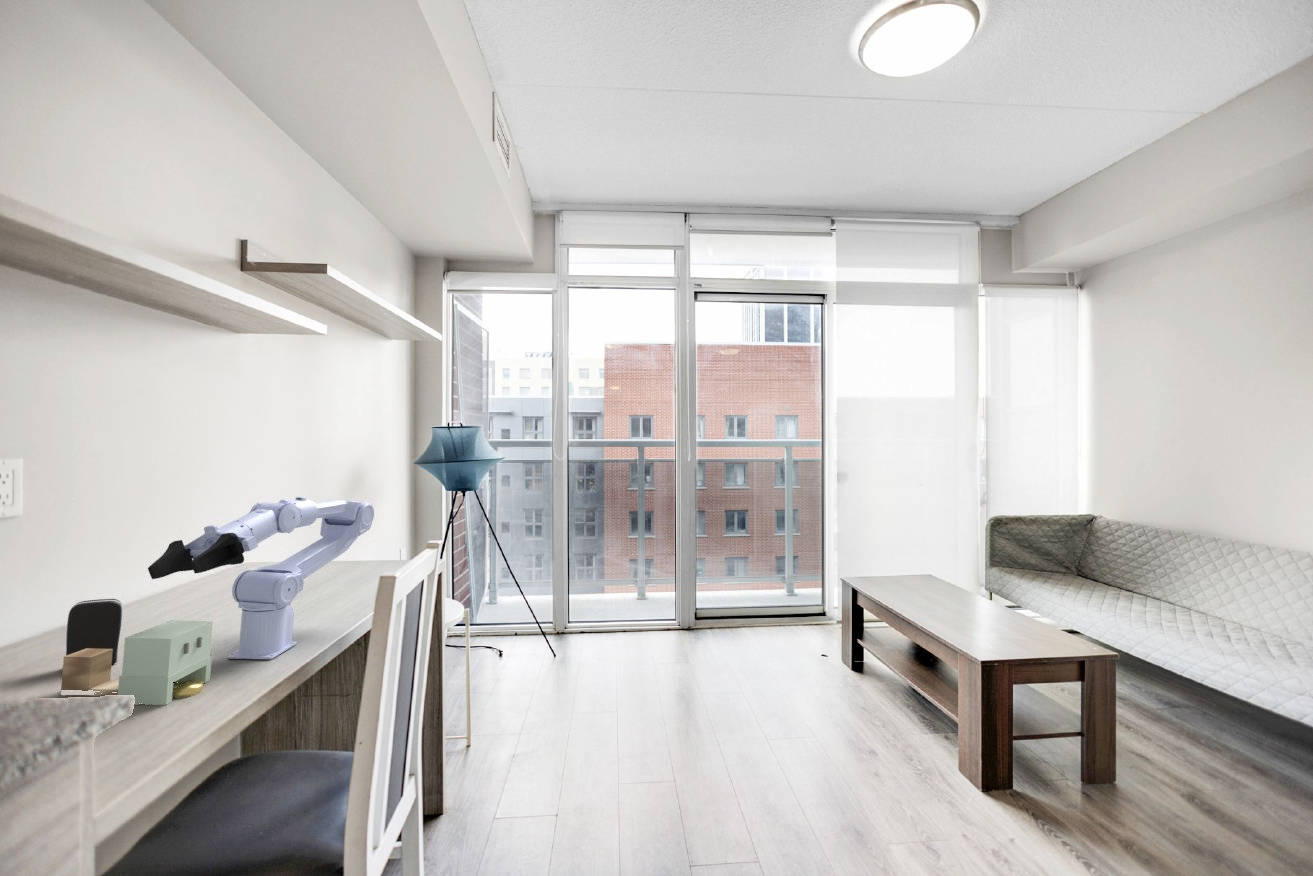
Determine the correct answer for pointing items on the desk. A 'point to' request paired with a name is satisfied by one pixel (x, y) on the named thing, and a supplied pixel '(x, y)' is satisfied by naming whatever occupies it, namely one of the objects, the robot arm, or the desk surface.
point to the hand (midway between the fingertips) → (172, 570)
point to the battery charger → (94, 626)
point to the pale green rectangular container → (165, 660)
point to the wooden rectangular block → (89, 672)
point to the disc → (187, 688)
